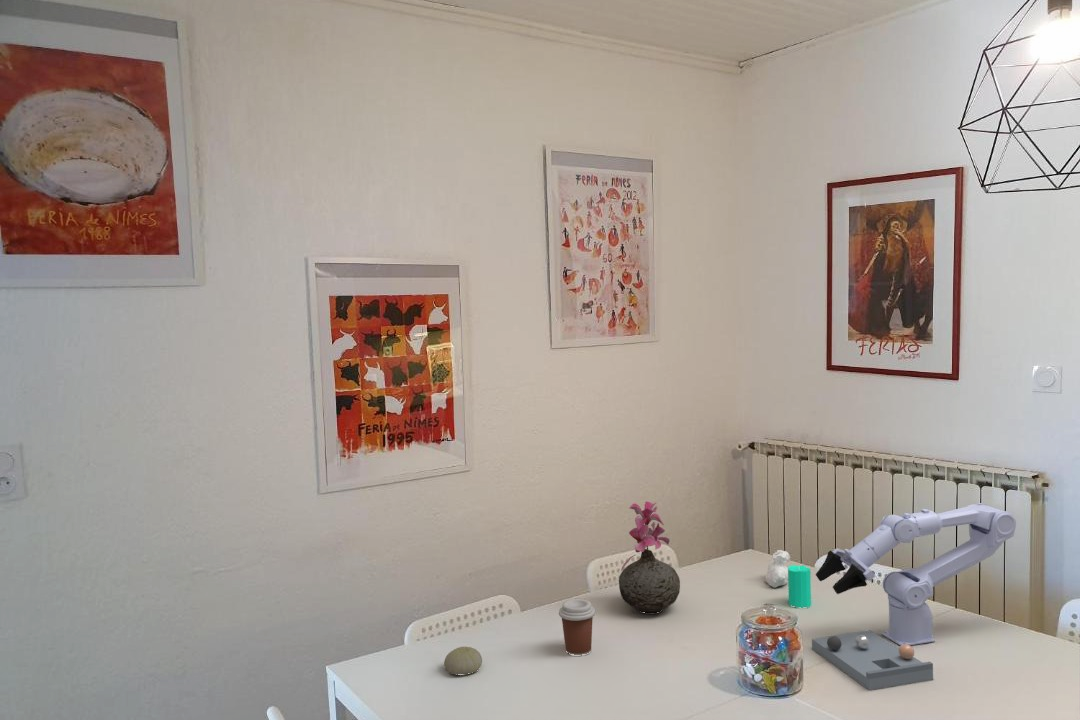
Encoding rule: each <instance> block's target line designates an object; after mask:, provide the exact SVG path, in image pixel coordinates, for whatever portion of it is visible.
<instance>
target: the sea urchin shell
mask: <svg viewBox="0 0 1080 720" xmlns="http://www.w3.org/2000/svg"><path fill="white" fill-rule="evenodd" d="M443 663H444V667H445V669H446V671H447V670H448V671H447V672H448V673H449V674H451V673H452V675H453V674H457V675H458V674H468V673H472V672H475V673H477V672H478V671H479V670H480V669H481V668H482V664H483V658H482V655H481V653H480V652H479V650H477V648H474V647H471V646H460V647H456V648H455V649H453V650H451V651H450V652H448V654H446V655H445V658H444V661H443ZM479 668H480V669H479ZM477 670H478V671H477ZM476 671H477V672H476ZM472 674H473V673H472Z"/></svg>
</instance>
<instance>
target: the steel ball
mask: <svg viewBox="0 0 1080 720" xmlns="http://www.w3.org/2000/svg"><path fill="white" fill-rule="evenodd" d="M855 643H856V645H857V647H859V648H860V649H867V648H868V647H869V646H870V640H869V639H868V637H866V636H865V635H859V636H857V637H856V639H855Z"/></svg>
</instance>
